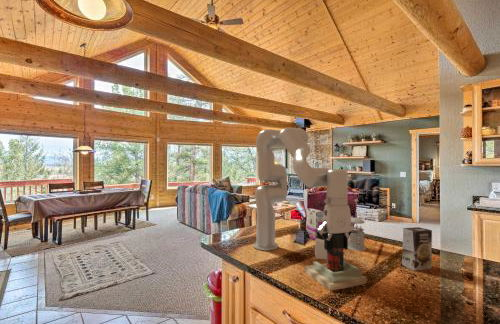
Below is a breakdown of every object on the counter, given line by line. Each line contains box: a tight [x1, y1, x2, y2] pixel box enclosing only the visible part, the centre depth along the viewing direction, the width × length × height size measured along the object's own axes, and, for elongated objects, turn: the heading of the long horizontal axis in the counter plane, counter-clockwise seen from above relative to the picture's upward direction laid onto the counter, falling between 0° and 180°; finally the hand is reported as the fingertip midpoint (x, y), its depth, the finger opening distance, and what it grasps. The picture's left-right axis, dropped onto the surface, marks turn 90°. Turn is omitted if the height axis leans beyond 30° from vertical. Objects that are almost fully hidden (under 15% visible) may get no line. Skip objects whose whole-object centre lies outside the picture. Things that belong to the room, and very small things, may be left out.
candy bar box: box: [305, 208, 324, 241], centre depth 146 cm, size 11×5×16 cm, turn 17°
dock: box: [303, 260, 368, 292], centre depth 96 cm, size 16×16×5 cm
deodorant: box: [326, 233, 345, 272], centre depth 96 cm, size 6×6×15 cm
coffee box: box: [401, 226, 433, 271], centre depth 107 cm, size 9×6×16 cm
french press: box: [347, 199, 367, 252], centre depth 130 cm, size 10×12×25 cm
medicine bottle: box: [314, 230, 327, 261], centre depth 117 cm, size 7×7×12 cm
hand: (335, 248), depth 95 cm, fingers open, 6 cm apart
